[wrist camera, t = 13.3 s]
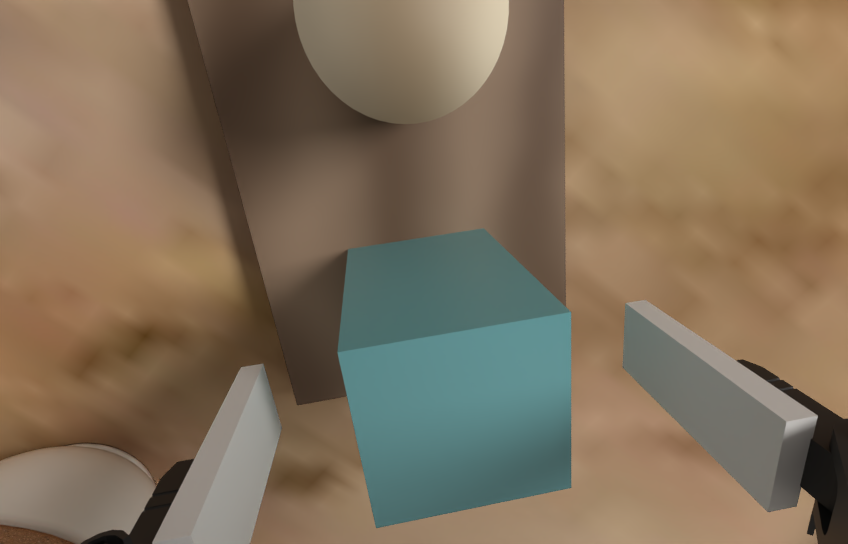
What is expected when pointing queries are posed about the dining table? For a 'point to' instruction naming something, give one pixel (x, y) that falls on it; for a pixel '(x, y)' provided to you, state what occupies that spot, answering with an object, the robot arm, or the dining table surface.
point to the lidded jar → (70, 494)
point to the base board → (380, 167)
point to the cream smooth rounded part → (402, 52)
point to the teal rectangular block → (454, 376)
